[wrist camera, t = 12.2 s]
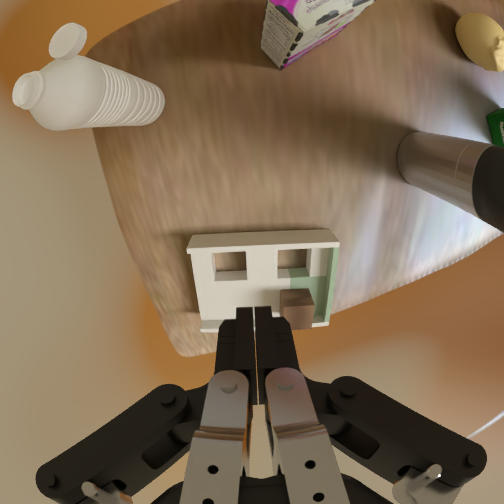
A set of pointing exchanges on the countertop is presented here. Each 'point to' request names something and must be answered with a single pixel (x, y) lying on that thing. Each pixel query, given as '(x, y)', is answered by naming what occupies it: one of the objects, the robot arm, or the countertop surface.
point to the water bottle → (85, 90)
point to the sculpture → (481, 40)
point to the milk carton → (497, 127)
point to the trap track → (262, 273)
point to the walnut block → (297, 308)
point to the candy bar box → (304, 25)
